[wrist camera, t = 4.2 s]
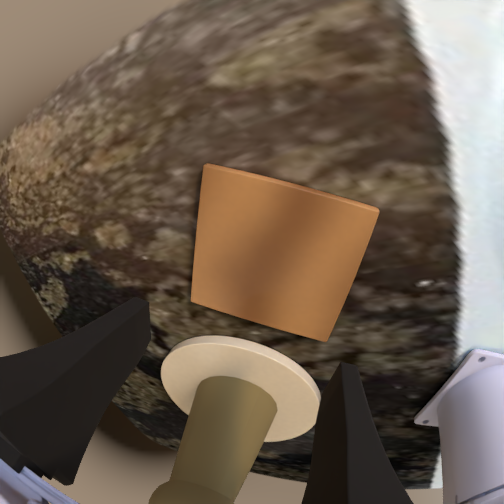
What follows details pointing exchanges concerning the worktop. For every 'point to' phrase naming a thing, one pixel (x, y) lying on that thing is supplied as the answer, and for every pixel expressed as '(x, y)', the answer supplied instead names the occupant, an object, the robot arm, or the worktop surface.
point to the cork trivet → (277, 250)
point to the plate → (244, 378)
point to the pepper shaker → (218, 442)
